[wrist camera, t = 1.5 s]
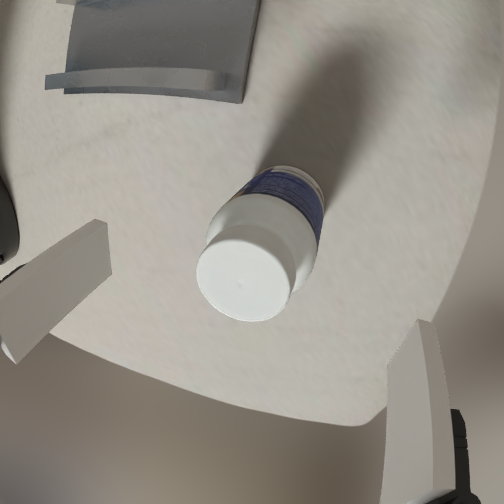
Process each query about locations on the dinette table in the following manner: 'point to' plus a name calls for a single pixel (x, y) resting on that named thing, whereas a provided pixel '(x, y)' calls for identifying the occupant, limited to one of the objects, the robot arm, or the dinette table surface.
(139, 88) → the rail channel
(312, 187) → the pill bottle
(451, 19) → the dinette table surface
